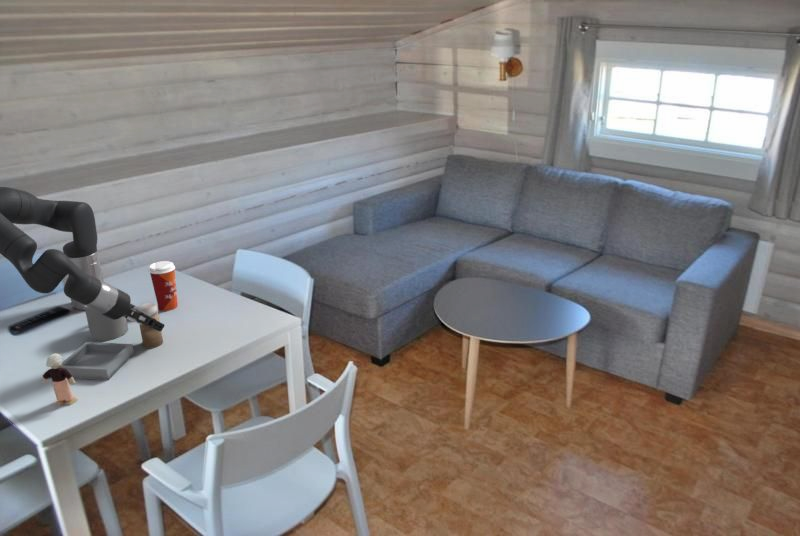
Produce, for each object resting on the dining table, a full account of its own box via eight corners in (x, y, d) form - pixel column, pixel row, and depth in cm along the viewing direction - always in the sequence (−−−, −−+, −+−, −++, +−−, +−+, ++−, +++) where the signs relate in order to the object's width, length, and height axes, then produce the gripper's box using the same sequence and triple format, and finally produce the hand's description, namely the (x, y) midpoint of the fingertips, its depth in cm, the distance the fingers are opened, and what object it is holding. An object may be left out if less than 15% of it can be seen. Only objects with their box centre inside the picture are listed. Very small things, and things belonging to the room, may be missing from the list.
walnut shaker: (139, 347, 175) (132, 311, 170) (148, 338, 180) (141, 302, 175) (158, 348, 174) (151, 312, 170) (166, 339, 179) (160, 303, 175)
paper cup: (176, 312, 195) (169, 269, 190) (151, 312, 195) (143, 269, 190) (184, 301, 202) (178, 260, 197) (160, 301, 202) (153, 260, 197)
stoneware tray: (59, 377, 161) (57, 367, 160) (88, 351, 173) (85, 342, 172) (108, 379, 160) (106, 369, 158) (133, 353, 171) (132, 344, 170)
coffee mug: (124, 338, 180) (118, 306, 176) (86, 342, 178) (79, 309, 174) (133, 317, 192) (127, 287, 188) (98, 321, 190) (91, 290, 186)
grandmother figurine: (84, 395, 153) (73, 349, 148) (79, 404, 150) (67, 357, 145) (50, 398, 152) (38, 351, 147) (44, 407, 149) (31, 360, 144)
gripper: (85, 304, 167) (136, 329, 180) (111, 320, 158) (163, 345, 171) (101, 280, 169) (150, 306, 181) (128, 294, 160) (178, 320, 173)
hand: (156, 324), depth 176 cm, fingers closed on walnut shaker, 5 cm apart
